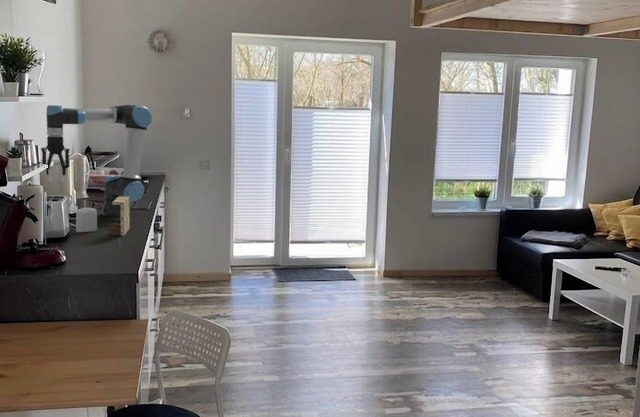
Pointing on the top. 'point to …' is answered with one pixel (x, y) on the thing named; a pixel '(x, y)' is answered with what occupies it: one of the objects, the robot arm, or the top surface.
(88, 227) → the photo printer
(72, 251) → the top surface
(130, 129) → the robot arm
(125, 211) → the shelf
